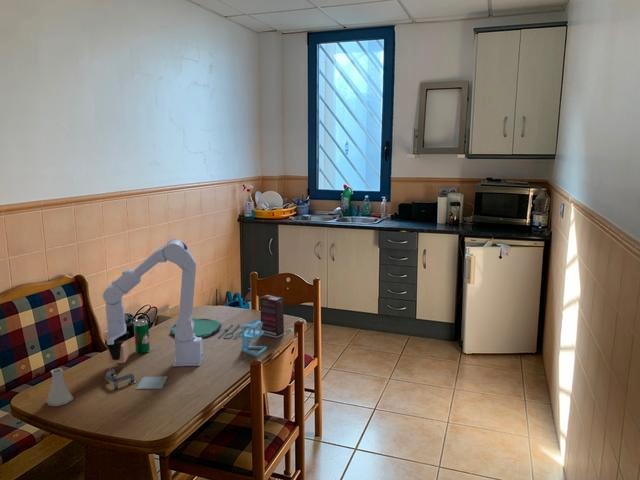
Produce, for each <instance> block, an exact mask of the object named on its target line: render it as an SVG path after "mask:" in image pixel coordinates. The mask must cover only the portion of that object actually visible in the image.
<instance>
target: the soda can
mask: <svg viewBox="0 0 640 480" xmlns="http://www.w3.org/2000/svg"><path fill="white" fill-rule="evenodd" d="M149 330H150V329H149V322H148V320H147V319H145V318H139V319H136V320H134V324H133V333H134V345H135V352H136V353H137V354H140V355H143V354H144V355H145V354H147V353H148V352H149V351H151V350H150V349H151V348H150V347H151V345H150V344H151V343H150V332H149Z"/></svg>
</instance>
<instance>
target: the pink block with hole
mask: <svg viewBox="0 0 640 480" xmlns="http://www.w3.org/2000/svg"><path fill="white" fill-rule="evenodd" d="M107 351H108V352H107V353H108V362H109V364H123V363H124V364H125V363H126V361H127V360H128V358H130V357H129V356H130V355H129V345H128V340H127V341H123V342H122V345H121V350H120V359H119V360H113V359H112V356H111V354H110V351H109V349H108V348H107Z"/></svg>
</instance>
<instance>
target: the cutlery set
mask: <svg viewBox="0 0 640 480" xmlns="http://www.w3.org/2000/svg"><path fill="white" fill-rule="evenodd" d="M193 321H194V329H193V333H194V334H195V335H196V337H200V338H202V339H203V338H207V337H210V336H211V335H212V334H214V333H216V332H218V331H220V328H221V326H222V323H221V322H219V320H216V319H210V318H193ZM233 326H234V324H230V326H229V327H227V328H225V329H224V331H222V332H221V333H220V334H219V335H218V339H220V338H221V337H222V336H223V335H224V337H223V338H225V339H227V336H229V335H231V336H230V337H229V339H231V338H232V340H238V339H239V338H241V337H240V335H241V334H242V329H241V330H240V331H239V332H237V333H235V335H234V332H235V331H236V330H237V329H238V328H239V327H241V324H236V326H235V327H234V329H233V330H232V331H231V332H228V331H229V329H230V328H232V327H233ZM175 329H176V323H175V324H173V326H172V327H171V329H170V330H169V332H170V333H169V334H170V335H172V336H173V335H175ZM243 329H244V331H245V330H246V329H247V328H243ZM227 332H228V333H227ZM225 333H226V334H225ZM238 337H239V338H238Z"/></svg>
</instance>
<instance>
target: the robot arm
mask: <svg viewBox="0 0 640 480" xmlns="http://www.w3.org/2000/svg"><path fill="white" fill-rule="evenodd" d="M167 262H171V263H172V264H175V265H176V266H178V267H179V269H181V270H182V271H181V272H182V273H181V284H180V285H181V286H180V300H179V310H178V311H179V313H178V319H177V320H176V323H175V324H176V329H175V334H174V347H175V349H174V350H175V359H174V361H173V364H172V367H190V366H192V367H193V366H194V367H195V366H196V367H197V366H199V367H200V366H202V365H201V364H202V361H203V359H204V344H203V343H204V342H203V338H201V337H196V335H195V334H194V333H193V329H194V321H193V319H194V318H193V314H194V312H193V310H194V296H195V285H196V273H197V272H196V271H197V261H196V259H195V258H194V256H193V254H192V253H191V250H190V249H189V246H188V244H186V243H185V242H184V241H182V240H181V239H179V238H172V239H170V240H169V241H167V244H166V243H164V244H163V245H161V246H160V247H158V248H157V249H155V251H154V252H152V254H150V255H149V256H148V257H147V258H146V259H145V260H143V262H141V263H140V264H139V265H138V266H137V267H136V268H134V269H133V268H131V269H128V270H124V271H122V272H121V275H120V276H119V277H118V278H116V279H115V280H112V281H111V284H109V285H108V286H107V287H106V288H105V289H104V291H103V293H102V298H103V301H104V302H105V315H106V326H107V328H106V329H107V330H104V332H103V334H104V335H106V336H107V338H106V340H104V346H105V347H106V348H107V350H108V349H109V351H110V354H111V356H112V359H113V360H119V359H120V350H121V345H122V342H123V341H127V342H128V338H129V335H130V331H128V330H127V323H126V319H125V307H124V301H123V299H124V298H123V296H124V295H127V294H128V293H129V292H130V291H131V290H133V289H134V288H135V287H136V286H137V285H139V284H140V283H141V281H142V277H143V275H145V274H146V273H147V272H149V271H150V270H151V269H152V268H153V267H155V266H156V265H157V264H159V263H167Z"/></svg>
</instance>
